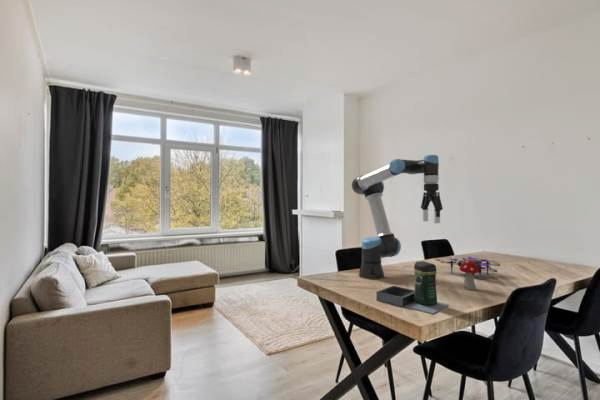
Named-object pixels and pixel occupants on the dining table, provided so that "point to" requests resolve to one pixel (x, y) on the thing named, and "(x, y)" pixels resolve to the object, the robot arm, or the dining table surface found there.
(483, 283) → the dining table surface
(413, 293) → the locating collar
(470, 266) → the decorative mushroom
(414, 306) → the rubber pad
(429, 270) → the coffee jar
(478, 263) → the drone
